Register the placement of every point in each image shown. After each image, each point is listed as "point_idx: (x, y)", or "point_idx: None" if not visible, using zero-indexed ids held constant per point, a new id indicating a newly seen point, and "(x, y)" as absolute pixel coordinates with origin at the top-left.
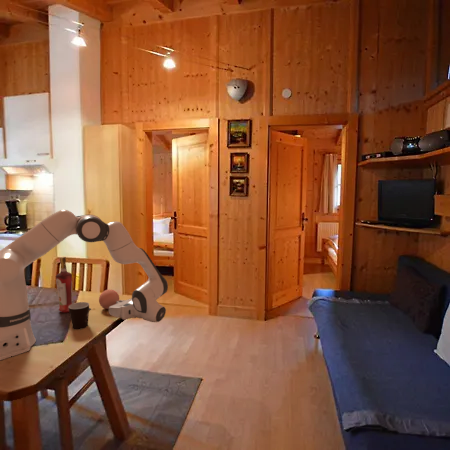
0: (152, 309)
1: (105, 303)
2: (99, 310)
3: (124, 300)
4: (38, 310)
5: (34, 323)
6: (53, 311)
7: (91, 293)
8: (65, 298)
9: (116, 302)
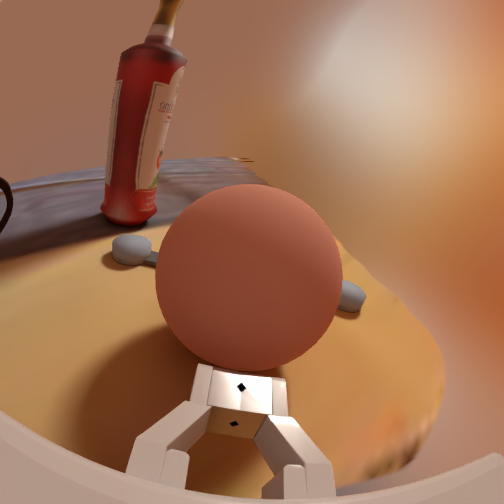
0: None
1: (157, 291)
2: None
3: (296, 447)
4: None
5: (25, 201)
6: None
7: None
8: (110, 155)
9: (195, 377)
